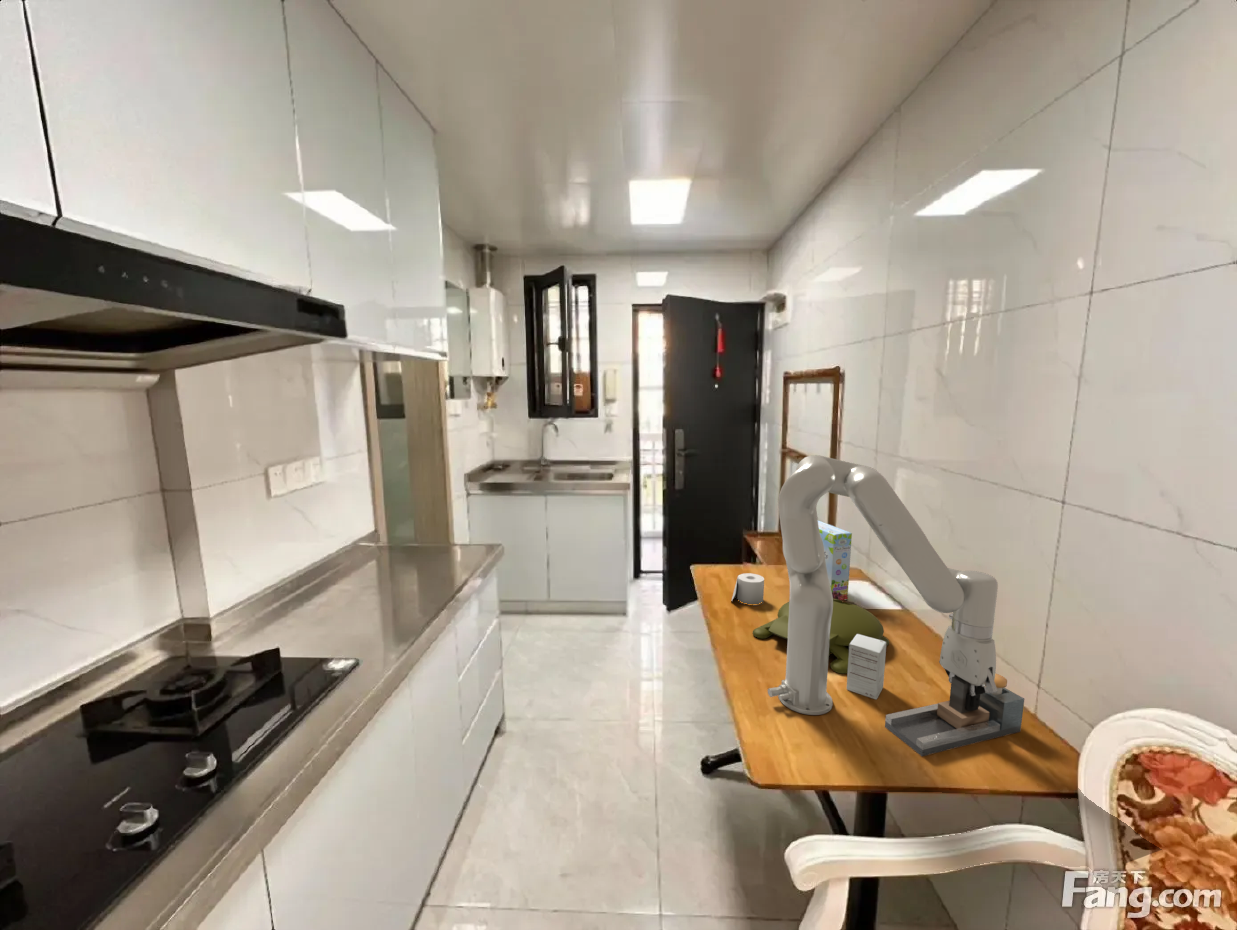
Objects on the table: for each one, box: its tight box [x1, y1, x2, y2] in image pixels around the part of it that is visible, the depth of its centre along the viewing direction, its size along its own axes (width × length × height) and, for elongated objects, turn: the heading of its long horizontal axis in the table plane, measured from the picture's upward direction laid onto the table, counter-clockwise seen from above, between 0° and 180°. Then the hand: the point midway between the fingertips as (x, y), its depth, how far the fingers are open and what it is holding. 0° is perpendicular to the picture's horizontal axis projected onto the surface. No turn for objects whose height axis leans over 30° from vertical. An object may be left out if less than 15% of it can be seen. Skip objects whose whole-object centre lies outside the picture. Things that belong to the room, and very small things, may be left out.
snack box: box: [818, 520, 853, 601], centre depth 197 cm, size 22×9×26 cm, turn 17°
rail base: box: [884, 687, 1025, 757], centre depth 117 cm, size 28×10×8 cm, turn 107°
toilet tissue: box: [731, 572, 765, 604], centre depth 187 cm, size 9×13×9 cm
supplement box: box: [846, 634, 887, 700], centre depth 132 cm, size 7×7×13 cm
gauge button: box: [984, 673, 1008, 695], centre depth 120 cm, size 5×5×8 cm
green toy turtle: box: [752, 599, 890, 675], centre depth 161 cm, size 35×31×10 cm
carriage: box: [937, 676, 990, 729], centre depth 117 cm, size 8×6×10 cm
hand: (963, 704), depth 117 cm, fingers closed on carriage, 3 cm apart
